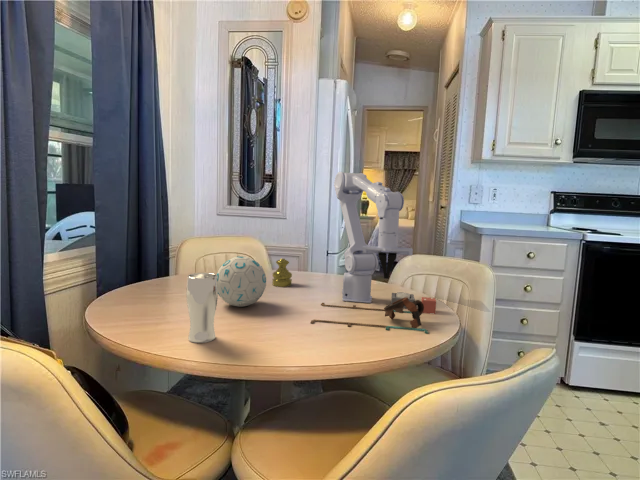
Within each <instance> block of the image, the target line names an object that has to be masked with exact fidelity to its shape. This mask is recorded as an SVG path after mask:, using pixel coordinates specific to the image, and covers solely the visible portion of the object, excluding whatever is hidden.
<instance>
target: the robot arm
mask: <svg viewBox="0 0 640 480" xmlns="http://www.w3.org/2000/svg"><path fill="white" fill-rule="evenodd" d="M333 183H334V184H333V186H334V191H335V194H336V197H337V199H338V200H339V204H340V208H341V212H342V213H341V214H342V217H343V221H344V226H345V231H346V234H347V238H348V243H349V247H348V248H347V249H346V250H345V252H344V253H343V254H344V268H345V269H346V271H347V272H344V273H343V281H342V291H341V294H342V298H341V300H342V301H343V302H344V301H345V302H355V303H367V304H369V303H372V300H373V299H372V298H373V296H372V294H371V293H372V276H373V275H374V272H375V271H376V270H377V268H378V266H379V262H380V264H381V268H382V271H383V279H388V280H389V278H390V273H391V269H392V267H393V265H394V263H395V261H396V259H397V255H403V256H414V255H413V251H414V249H413V247H401V246H399V243H398V241H399V227H400V224H399V221H400V211H402V210H403V208H404V205H405V198H404V196H403V194H402V193H401V192H400V191H392V190H391V188H390V187H386V186H384V185H383V182H382V181H376V182H372V181H371V180H370V179H369V178H368V177H367V174H365V173H363V172H360V173H359V172H358V173H357V172H355V173H354V172H343V171H339V172H337V173H336V175H335V177H334V182H333ZM364 192H365V193H366V197H367V198H368V200H370V201H371V202H373V203H374V204H375V206H376V209H377V216H378V238H377V242H378V243H377V245H376V246H374V245H369V244H367V243H366V239H365V236H364V233H363V227H362V224H361V221H360V219H361V218H360V216H359V213H358V208H357V207H358V206H357V203H356V201H359V200H360V199H361V198H362V195H363V193H364ZM398 246H399V247H398ZM377 254H378V257H377Z"/></svg>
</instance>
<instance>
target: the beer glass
mask: <svg viewBox="0 0 640 480" xmlns="http://www.w3.org/2000/svg"><path fill="white" fill-rule="evenodd" d="M185 295H186V305H187V310H188V316H189V323H190V324H189V333H188V341H189V342H191V343H194V344H203V343H204V344H205V343H210V342H212V341H214V340H215V339H216V333H215V332H216V331H215V324H214V323H215V315H216V310H217V306H218V305H217V304H218V299H219V297H218V296H219V294H218V284H217V273H216V274H215V273H213V272H197V273H196V272H194V273H190V274H188V275H187V281H186V294H185Z"/></svg>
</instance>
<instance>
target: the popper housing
mask: <svg viewBox="0 0 640 480" xmlns="http://www.w3.org/2000/svg"><path fill="white" fill-rule="evenodd" d="M396 293H397V292H391V300H390V303H391V305H392V303H394V302H396V301H398V300H400V299H402V298H397V297H396ZM409 294H410V298H408V300H409V301H410V302H413V301H415V300H416V299H415V296H414V294H413V293H409ZM403 309H407V308H406V307H405V306H404V307H403Z"/></svg>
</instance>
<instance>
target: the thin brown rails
mask: <svg viewBox="0 0 640 480" xmlns="http://www.w3.org/2000/svg"><path fill="white" fill-rule="evenodd" d="M320 306H321V307H328V308H329V307H331V308H340V309H341V308H344V309H353V310H354V309H355V310H369V311H377V312H386V311H385V309H384V308H372V307H370V308H369V307H361V306H360V307H358V306H357V305H355V304H353V306H347V305H345V306H344V305H333V304H325V302H322V303H321V304H320ZM403 312H404V313H405V314H412V313H411V312H410V311H409V310H403ZM394 313H397V312H396V311H395V310H394ZM404 313H403V314H404ZM315 322H317V323H329V324H341V325H347V327H348V328H350V327H352V326H361V327H362V326H363V327H375V328H385V331H390V329H395V330H396V329H399V330H408V331H421V332H424V334H427V335H428V334H429V331H428V330H427V329H426V328H420V327H417V328H412V327H409V326H396V325H394V326H393V325H382V324H372V323H371V324H370V323H362V322H361V323H360V322H357V323H356V322H347V321H336V320H328V319H327V320H323V319H312V320H311V321H310V324H312V325H314V323H315Z"/></svg>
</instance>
